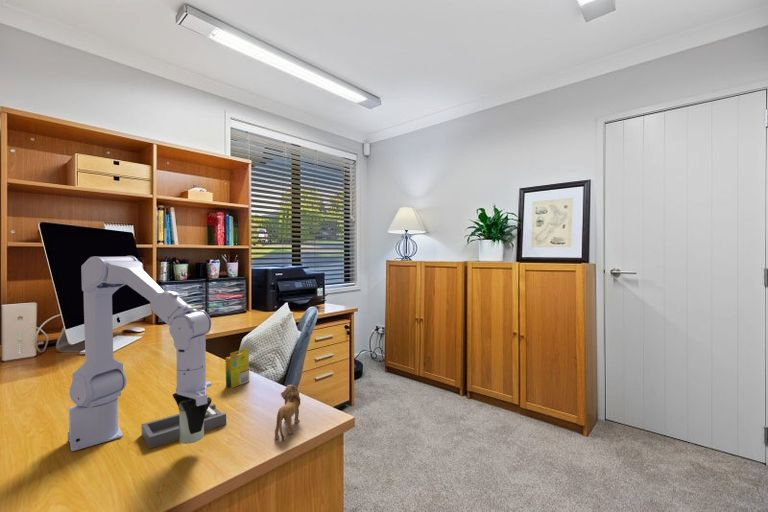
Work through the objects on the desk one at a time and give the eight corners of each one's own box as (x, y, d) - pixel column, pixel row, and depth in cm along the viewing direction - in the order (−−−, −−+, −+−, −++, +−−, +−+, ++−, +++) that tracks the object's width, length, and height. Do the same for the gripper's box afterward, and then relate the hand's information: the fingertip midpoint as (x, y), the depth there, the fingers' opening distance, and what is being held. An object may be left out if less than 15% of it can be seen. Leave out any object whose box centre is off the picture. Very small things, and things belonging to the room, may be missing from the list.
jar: (183, 446, 77) (182, 408, 77) (176, 437, 81) (175, 401, 81) (207, 437, 81) (207, 402, 81) (200, 430, 85) (199, 395, 84)
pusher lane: (149, 448, 83) (149, 437, 83) (141, 434, 89) (141, 424, 89) (226, 424, 95) (226, 414, 94) (214, 413, 101) (214, 403, 101)
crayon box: (244, 380, 127) (243, 346, 127) (249, 381, 125) (249, 347, 125) (225, 387, 121) (224, 351, 120) (231, 388, 119) (230, 353, 119)
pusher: (193, 428, 90) (193, 420, 90) (185, 420, 95) (185, 412, 95) (216, 421, 94) (216, 413, 94) (208, 413, 99) (208, 406, 99)
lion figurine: (281, 415, 99) (281, 382, 99) (301, 414, 100) (301, 381, 100) (272, 444, 85) (271, 405, 84) (295, 442, 85) (295, 404, 85)
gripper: (222, 370, 78) (222, 433, 78) (200, 356, 89) (200, 411, 89) (185, 378, 73) (186, 445, 74) (167, 362, 84) (167, 421, 84)
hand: (191, 427), depth 81 cm, fingers closed on jar, 5 cm apart
